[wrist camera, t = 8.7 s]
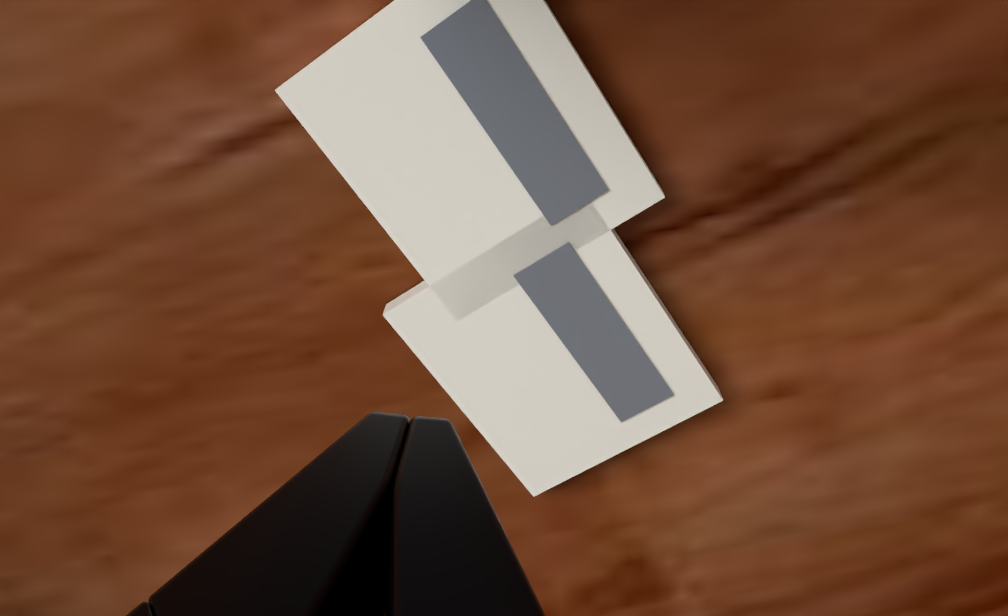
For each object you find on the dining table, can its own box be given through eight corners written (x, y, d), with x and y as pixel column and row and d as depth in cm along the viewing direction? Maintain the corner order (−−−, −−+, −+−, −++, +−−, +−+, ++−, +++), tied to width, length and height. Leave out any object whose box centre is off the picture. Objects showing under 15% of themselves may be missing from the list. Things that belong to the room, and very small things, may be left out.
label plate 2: (533, 483, 24) (533, 498, 23) (386, 304, 21) (382, 316, 21) (718, 388, 22) (724, 401, 22) (583, 181, 20) (584, 191, 19)
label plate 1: (458, 310, 21) (457, 322, 21) (281, 84, 19) (274, 91, 18) (661, 189, 20) (665, 197, 19) (497, -77, 17) (496, -76, 17)
